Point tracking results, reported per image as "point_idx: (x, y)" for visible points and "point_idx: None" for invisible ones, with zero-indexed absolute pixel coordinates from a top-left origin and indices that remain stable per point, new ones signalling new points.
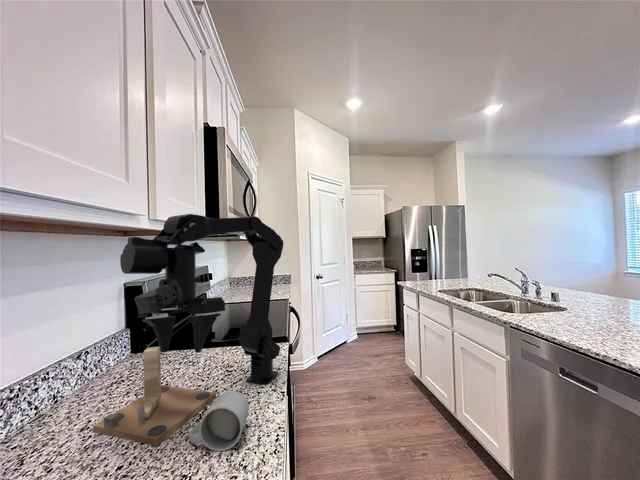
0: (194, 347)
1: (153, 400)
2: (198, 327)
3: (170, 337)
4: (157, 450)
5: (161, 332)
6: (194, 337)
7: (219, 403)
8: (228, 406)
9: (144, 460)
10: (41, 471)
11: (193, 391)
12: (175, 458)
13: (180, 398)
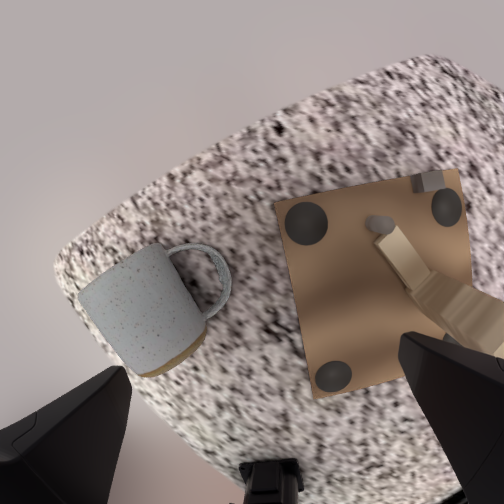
0: (107, 376)
1: (416, 285)
2: None
3: (432, 422)
4: (258, 195)
5: (481, 398)
6: (66, 408)
7: (108, 297)
8: (82, 295)
9: (253, 164)
10: (398, 69)
11: (376, 377)
12: (199, 200)
13: (381, 342)
